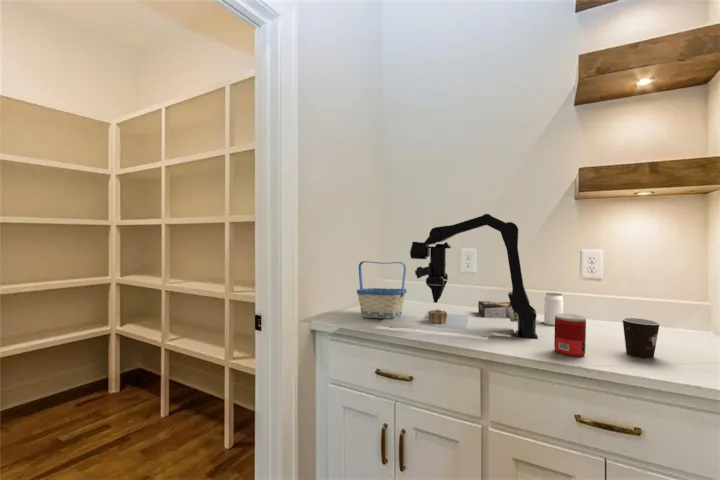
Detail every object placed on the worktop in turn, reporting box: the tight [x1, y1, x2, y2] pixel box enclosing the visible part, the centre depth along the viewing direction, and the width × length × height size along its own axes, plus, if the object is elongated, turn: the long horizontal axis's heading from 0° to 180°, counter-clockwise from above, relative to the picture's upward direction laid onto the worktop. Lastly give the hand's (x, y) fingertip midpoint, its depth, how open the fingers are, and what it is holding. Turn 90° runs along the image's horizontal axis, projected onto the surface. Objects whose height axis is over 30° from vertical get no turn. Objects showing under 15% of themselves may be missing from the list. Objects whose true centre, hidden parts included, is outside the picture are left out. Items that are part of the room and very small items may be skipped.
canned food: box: [553, 313, 587, 358], centre depth 107 cm, size 8×8×11 cm
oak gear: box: [428, 309, 447, 324], centre depth 139 cm, size 6×6×4 cm
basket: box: [356, 260, 407, 320], centre depth 151 cm, size 21×16×24 cm
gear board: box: [418, 311, 469, 330], centre depth 143 cm, size 24×17×4 cm
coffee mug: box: [622, 317, 660, 359], centre depth 106 cm, size 12×9×10 cm
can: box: [543, 292, 564, 327], centre depth 143 cm, size 6×6×12 cm
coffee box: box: [477, 300, 518, 322], centre depth 152 cm, size 9×6×16 cm
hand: (437, 300), depth 139 cm, fingers open, 9 cm apart
